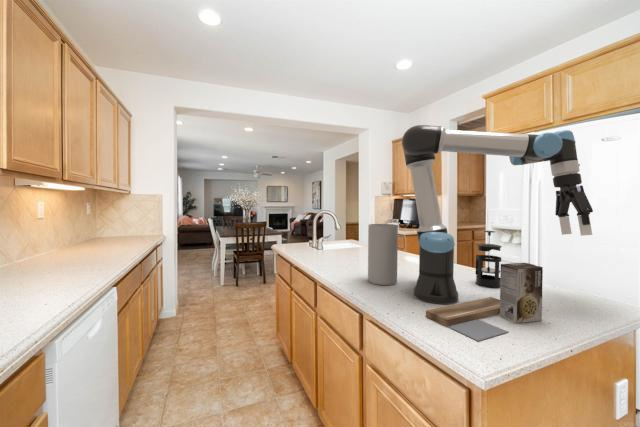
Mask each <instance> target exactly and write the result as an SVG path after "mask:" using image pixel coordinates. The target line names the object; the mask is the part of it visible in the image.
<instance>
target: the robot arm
mask: <svg viewBox="0 0 640 427" xmlns="http://www.w3.org/2000/svg"><path fill="white" fill-rule="evenodd" d="M401 147H402V150H403V155H404V162H405V167H406V168H408V169H410V174H411V181H412V186H413V193H414V199H415V204H416V212H417V217H418V224H419V227H418V228H417V230H416V235H417V240H418V241H417V242H418V248H419V258H418V259H419V262H418V263H419V265H418V267H419V268H418V271H419V272H418V277H417V279H416V283H415V286H414V288H413V296H414V298H416V299H418V300H420V301H423V302H426V303H427V302H428V303H431V304H439V305H452V304H456V303H457V302H458V301H459V292H458V290H457V287H456V286H457V285H456V283H455V278H454V267H455V266H454V264H455V263H454V260H455V259H454V257H455V250H454V249H455V245H456V244H455V238H454V236H453V235H452V234H450V233H448V228H447V226H446V225H444V224H443V223H442V217H441V210H440V204H439V198H438V191H437V185H436V180H435V173H434V167H433V165H434V163H435V162H436V161H437V160H436V154H437V155H438V154H440V153H441V152H446V153H447V152H450V153H451V152H452V153H461V154H463V153H464V154H473V155H474V154H475V155H486V156H487V155H492V156H502V157H503V156H504V157H509V162H510V164H511V165H512V166H524V165H528V164H529V165H530V164H535V163H536V164H537V163H541V162H549V163H550V172H551V176H553V178H552V181H553V182H552V183H553V187H554V188H559V189H560V190H556V191H555V196H556V197H555V198H556V200H555V212H554V214H555V216H557V217H558V219H559V224H560V231H561V236H562V235H563V236H564V235H571V234H572V233H573V232H572V228H571V227H572V226H571V221H570V217H571V216H570V214H569V209H570V205H571V204H572V206H573V207H574V209H575V210H576V211H577V212H576V216H577V220H578V226H579V227H578V228H579V232H580V236H591V235H593V231H592V225H591V219H590V214H591V213H593V212H594V211H593V208H592V205H591V203H590V201H589V199H588V196H587V194H586V193H585V189H584V185H582V175H581V174H580V173H579V172H580V166H581V164H580V163H579V159H578V152H577V145H576V139H575V136H574V132H573V131H571V130H570V129H568V130H567V129H566V130H564V129H563V130H559V131H554V132H545V133H540V134H533V133H532V134H527V133H514V132H513V133H511V132H495V131H494V132H493V131H480V130H479V131H476V130H459V129H446V128H445V126H441V125H426V124H418V125H414V126H412V127H410V128H408V129H407V130H406V131H405V132H404V134H403V136H402V139H401Z"/></svg>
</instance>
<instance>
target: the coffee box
mask: <svg viewBox="0 0 640 427" xmlns="http://www.w3.org/2000/svg"><path fill="white" fill-rule="evenodd" d="M543 272H544V270H543V266H540V265H537V264H532V263H528V262H516V263H515V262H514V263H511V262H510V263H500V278H501V279H500V288H499V292H500V293H499V300H500V314H499V316H500V317H503V318H504V319H506V320H509V321H511V322H513V323H515V324H523V323H530V322H540V321H542V320H543Z"/></svg>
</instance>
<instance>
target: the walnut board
mask: <svg viewBox="0 0 640 427" xmlns="http://www.w3.org/2000/svg"><path fill="white" fill-rule="evenodd" d="M496 315H500V298H495V297H492V296H488V297H484V298H483V297H482V298H479V299H474V300H470V301H469V300H468V301H463V302H460V303H453V304H448V305H444V306H440V307H435V308H431V309H430V308H429V309H426V310H425V318H428V319H429V320H432V321H434V322H435V323H438V324H439V325H440V324H441V326H444V327H447V328H448V326H452V325H456V324H460V323H464V322H468V321H472V320H476V319H478V320H481V319H486V318H488V317H489V318H490V317H493V316H496Z"/></svg>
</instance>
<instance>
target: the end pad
mask: <svg viewBox="0 0 640 427" xmlns="http://www.w3.org/2000/svg"><path fill="white" fill-rule="evenodd" d="M447 328H448V329H451V330H453V331H454V332H457V333H459V334H461V335H463V336H465V337H467V338H469V339H471V340H473V341H476V342H481V341H484V340H488V339H492V338H495V337H499V336H502V335H506V334H508V333H509V331H507V330H506V329H503V328H500V327H497V326H496V325H493V324H490V323H488V322H485V321H483V320H481V319H476V320H472V321H468V322H464V323H460V324H456V325H452V326H448V327H447Z"/></svg>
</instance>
